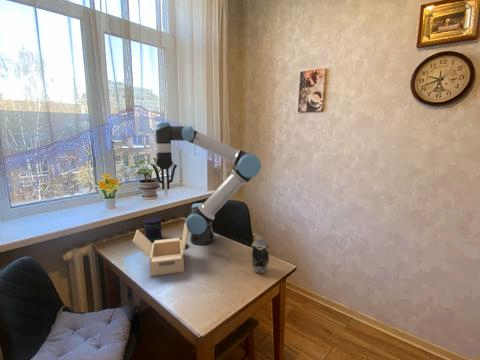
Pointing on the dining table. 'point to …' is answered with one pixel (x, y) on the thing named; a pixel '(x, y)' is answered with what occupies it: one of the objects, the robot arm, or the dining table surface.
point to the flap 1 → (142, 242)
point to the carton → (166, 257)
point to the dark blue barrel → (153, 229)
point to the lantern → (260, 253)
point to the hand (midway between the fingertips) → (166, 195)
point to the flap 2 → (184, 236)
